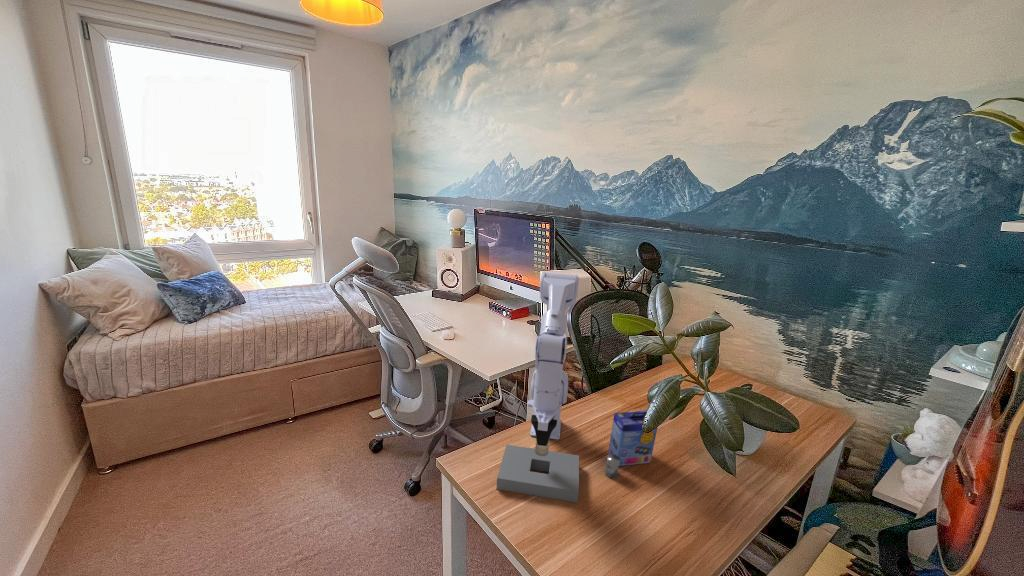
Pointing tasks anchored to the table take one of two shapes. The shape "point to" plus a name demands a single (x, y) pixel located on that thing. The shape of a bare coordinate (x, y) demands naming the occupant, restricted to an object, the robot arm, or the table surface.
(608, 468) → the short steel pin
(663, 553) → the table surface
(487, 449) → the table surface
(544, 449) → the birch pin
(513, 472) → the hole plate
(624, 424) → the ink cartridge box
